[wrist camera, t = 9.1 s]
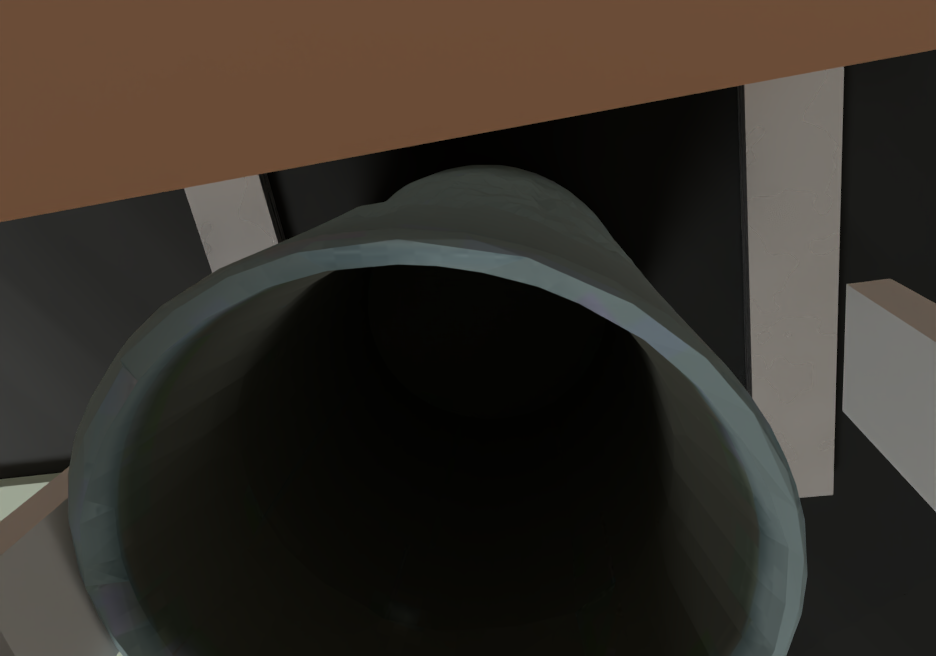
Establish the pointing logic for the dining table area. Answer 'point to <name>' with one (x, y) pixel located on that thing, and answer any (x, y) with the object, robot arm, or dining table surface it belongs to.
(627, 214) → the dining table surface
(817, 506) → the dining table surface
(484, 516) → the grey open tube
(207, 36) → the wooden arch
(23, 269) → the dining table surface
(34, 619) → the robot arm
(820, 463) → the rails
